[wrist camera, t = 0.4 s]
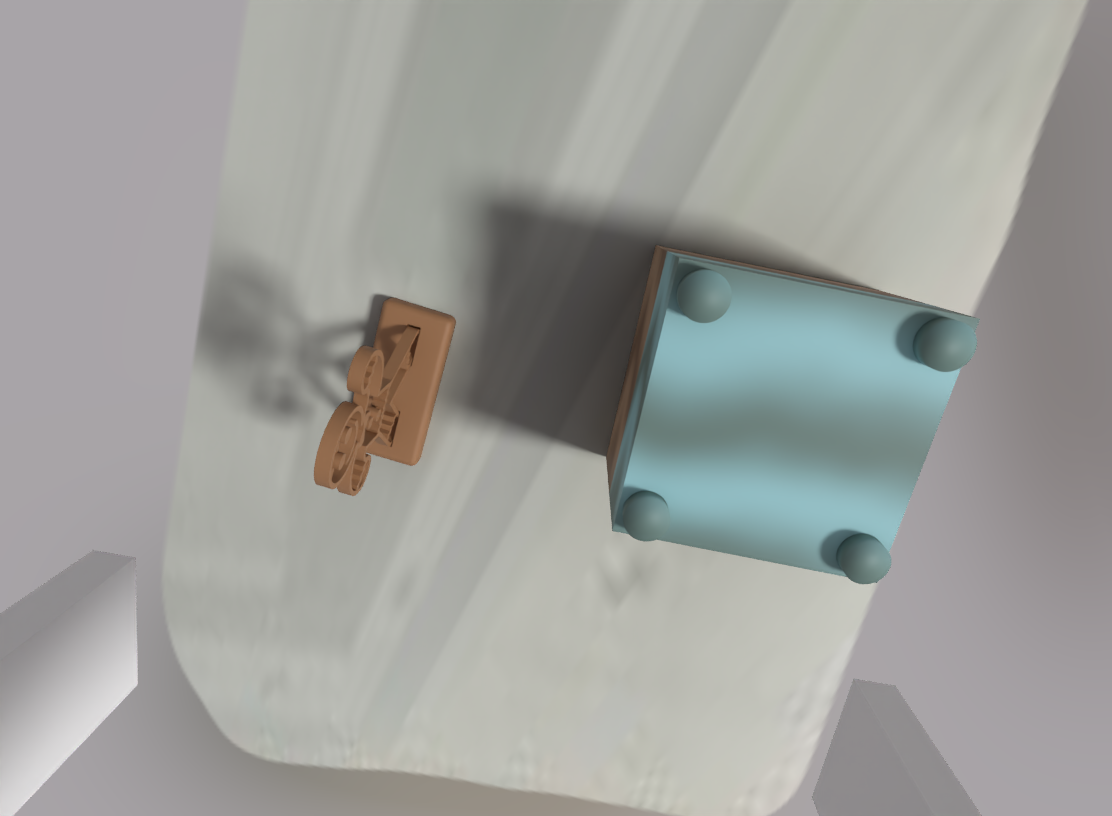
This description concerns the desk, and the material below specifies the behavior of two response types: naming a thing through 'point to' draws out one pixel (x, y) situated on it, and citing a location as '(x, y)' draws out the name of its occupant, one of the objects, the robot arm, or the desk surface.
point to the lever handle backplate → (386, 396)
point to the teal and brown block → (778, 413)
